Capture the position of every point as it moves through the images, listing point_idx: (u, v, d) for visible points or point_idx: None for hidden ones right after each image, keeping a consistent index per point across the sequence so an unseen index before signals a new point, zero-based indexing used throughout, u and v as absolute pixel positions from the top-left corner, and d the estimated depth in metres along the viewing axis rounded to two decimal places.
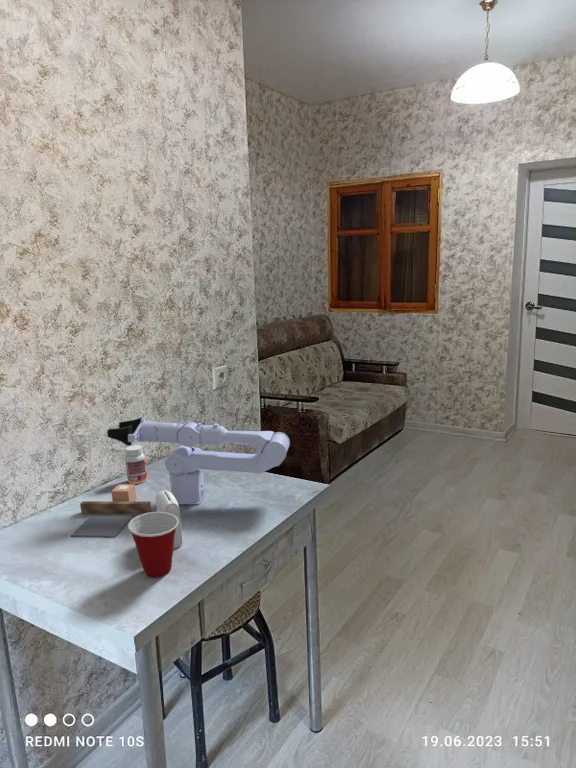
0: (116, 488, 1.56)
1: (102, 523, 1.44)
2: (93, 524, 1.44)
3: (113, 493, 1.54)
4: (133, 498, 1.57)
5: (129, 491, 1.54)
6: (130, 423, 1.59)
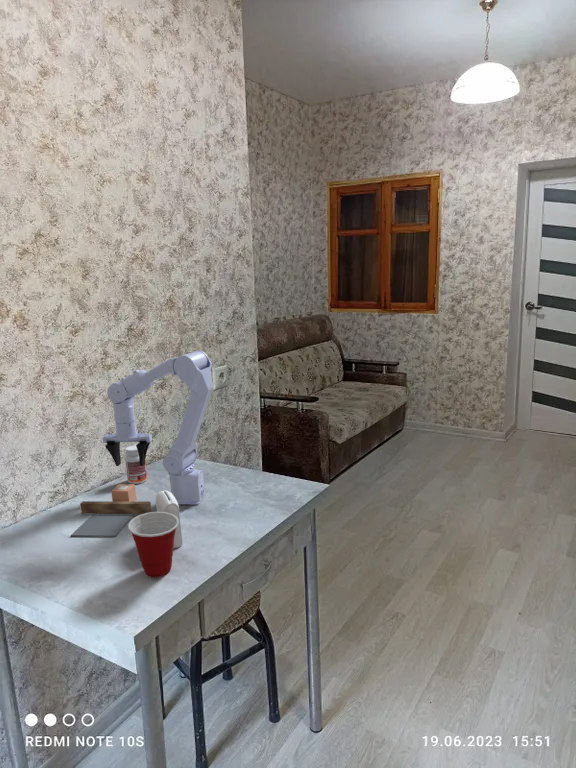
0: (116, 488, 1.56)
1: (102, 523, 1.44)
2: (93, 524, 1.44)
3: (113, 493, 1.54)
4: (133, 498, 1.57)
5: (129, 491, 1.54)
6: None
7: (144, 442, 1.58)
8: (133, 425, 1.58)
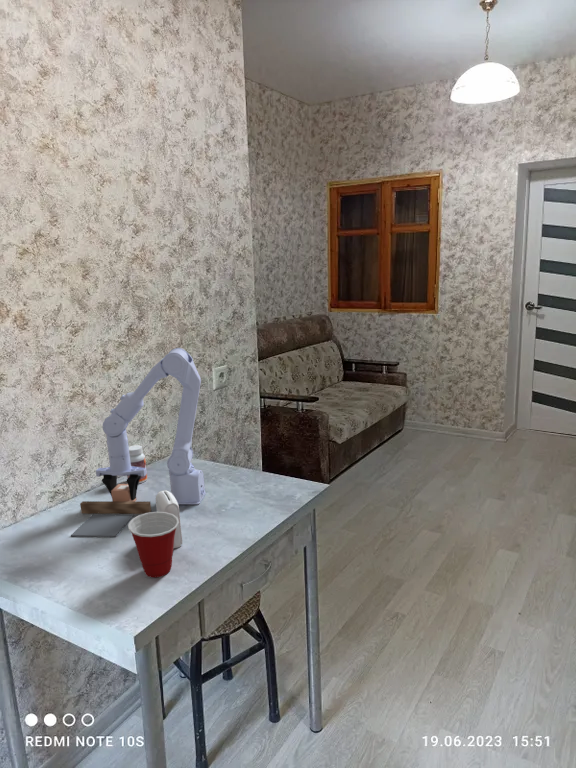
0: (116, 488, 1.56)
1: (102, 523, 1.44)
2: (93, 524, 1.44)
3: (113, 493, 1.54)
4: None
5: (129, 491, 1.54)
6: None
7: (135, 476, 1.54)
8: (127, 459, 1.53)
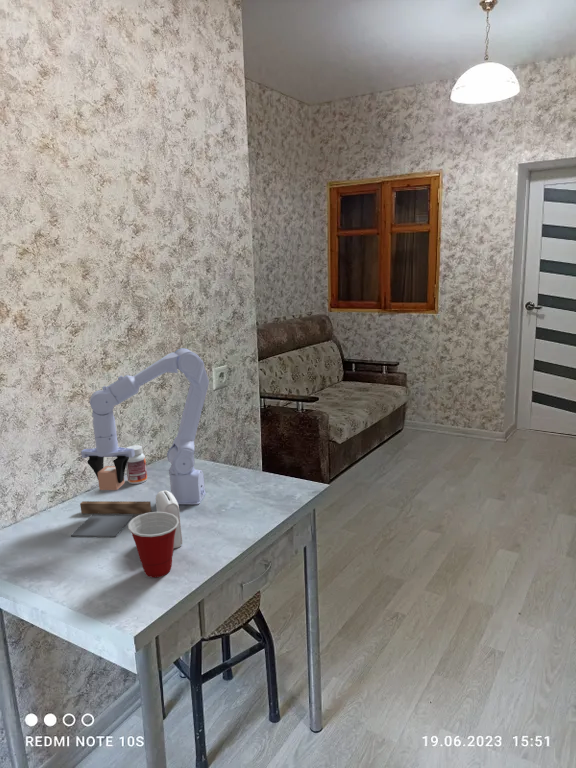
0: (103, 470, 1.48)
1: (102, 523, 1.44)
2: (93, 524, 1.44)
3: (99, 475, 1.46)
4: None
5: (116, 473, 1.47)
6: None
7: (122, 457, 1.46)
8: (114, 439, 1.45)
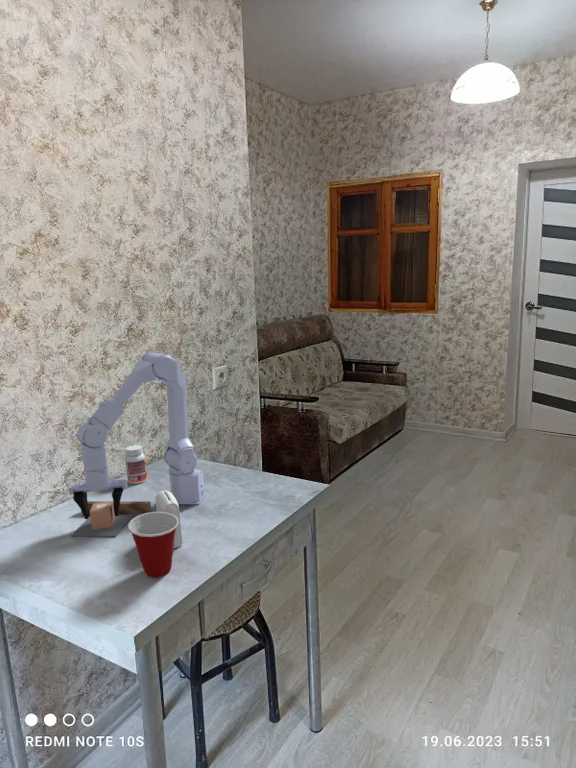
0: (93, 508, 1.42)
1: None
2: None
3: (92, 514, 1.40)
4: (112, 517, 1.44)
5: (110, 509, 1.41)
6: None
7: (119, 489, 1.41)
8: (106, 471, 1.40)
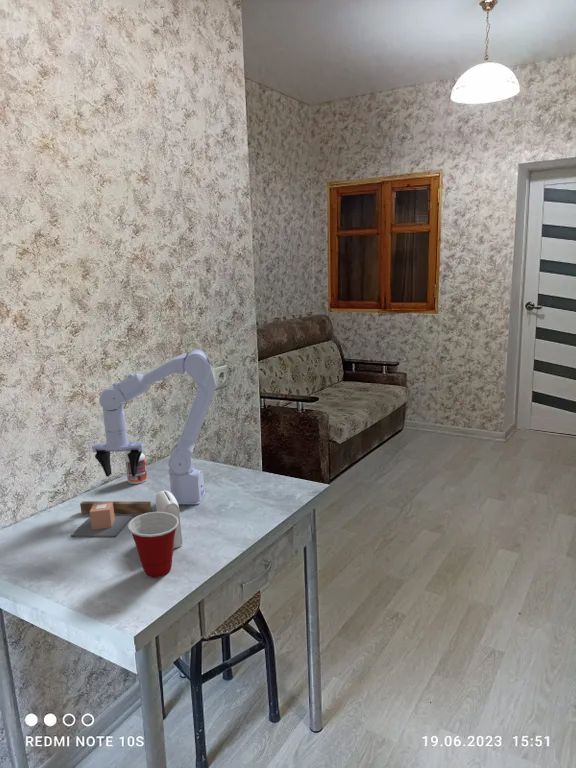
0: (93, 508, 1.42)
1: None
2: None
3: (92, 514, 1.40)
4: (112, 517, 1.44)
5: (110, 509, 1.41)
6: None
7: (136, 451, 1.51)
8: (124, 433, 1.50)
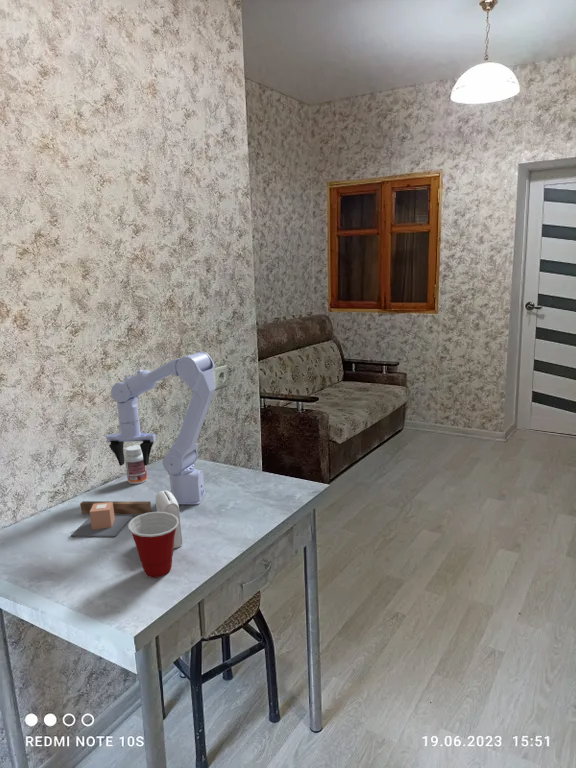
0: (93, 508, 1.42)
1: None
2: None
3: (92, 514, 1.40)
4: (112, 517, 1.44)
5: (110, 509, 1.41)
6: None
7: (148, 441, 1.59)
8: (137, 425, 1.58)
